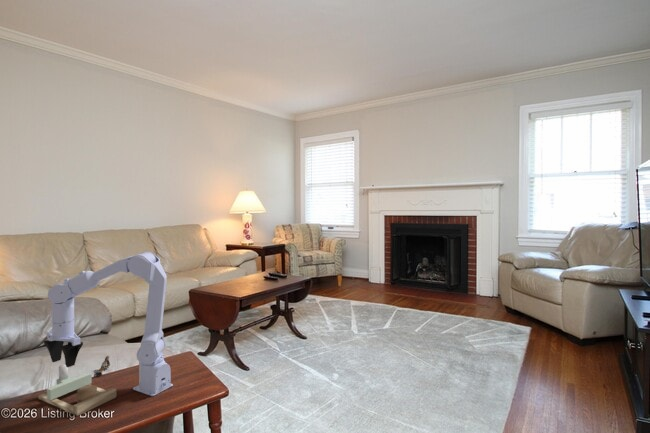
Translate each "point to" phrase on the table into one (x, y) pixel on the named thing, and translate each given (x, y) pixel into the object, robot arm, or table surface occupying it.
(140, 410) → the table surface
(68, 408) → the frame
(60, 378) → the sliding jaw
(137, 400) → the table surface
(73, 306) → the robot arm
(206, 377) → the table surface
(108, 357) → the brown figurine
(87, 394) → the walnut puck
